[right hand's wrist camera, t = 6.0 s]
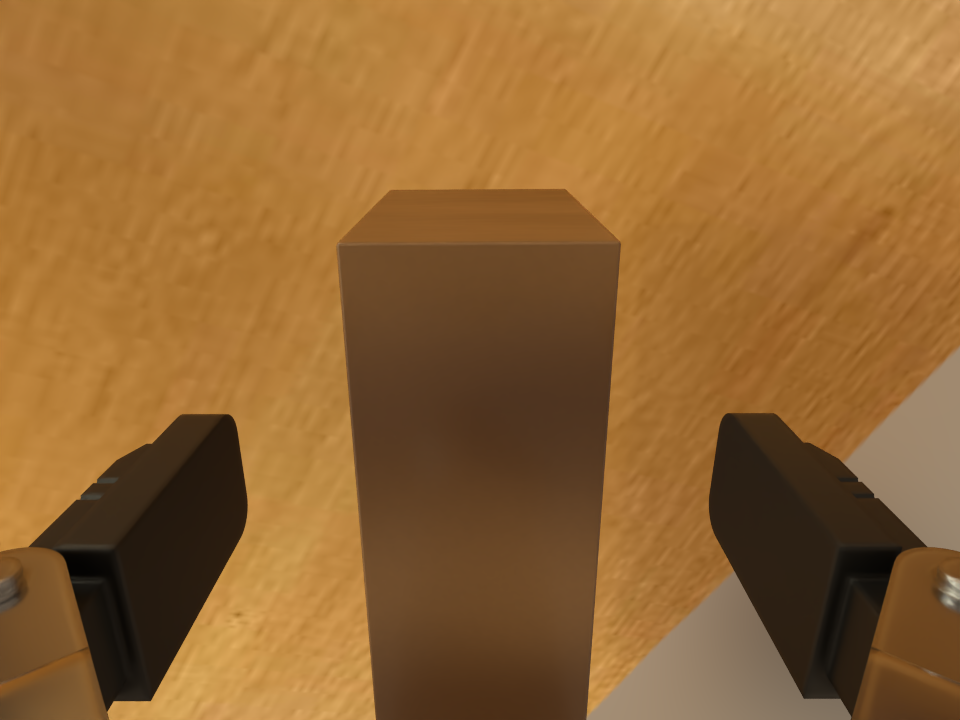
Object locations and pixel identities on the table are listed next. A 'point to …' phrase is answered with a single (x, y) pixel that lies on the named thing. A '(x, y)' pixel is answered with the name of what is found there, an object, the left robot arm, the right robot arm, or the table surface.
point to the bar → (479, 445)
